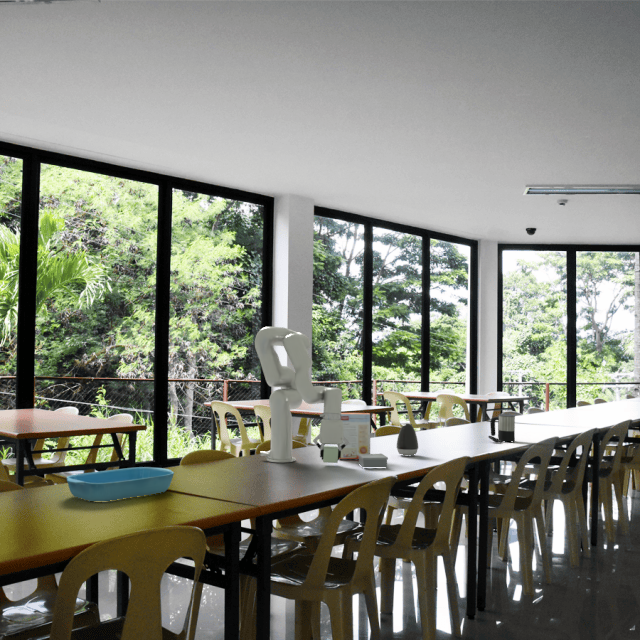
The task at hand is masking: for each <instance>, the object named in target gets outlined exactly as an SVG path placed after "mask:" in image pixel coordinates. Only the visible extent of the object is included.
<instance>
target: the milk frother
mask: <svg viewBox="0 0 640 640" xmlns="http://www.w3.org/2000/svg"><path fill="white" fill-rule="evenodd" d="M515 418H516V415H515V414H507V413H506V414H505V413H504V414H503V413H501V414H498V416H494V417H492V418H491V419H490V435H488V436H487V437H488V439H490V440H491V441H493V442H494V443H495V442H497V443H499V442H501V443H503V442H502V441H515V442H516V440H515V437H516V434H515V433H516V432H515V429H516V426H515V425H516V424H515V422H516V419H515ZM496 421H497V422H498V423H497V432H498V433H497V437H494V436H496Z"/></svg>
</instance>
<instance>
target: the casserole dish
mask: <svg viewBox="0 0 640 640" xmlns="http://www.w3.org/2000/svg"><path fill="white" fill-rule="evenodd" d="M174 474H175V472H174V471H172V470H171V469H170V468H169V469H168V468H164V467H163V468H162V467H151V466H144V467H143V466H139V467H127V468H118V469H110V470H100V471H93V472H86V473H85V472H84V473H78V474H71V475H67V476H66V482H67V485H68V489H69V492H70V493H71V494H72V496H73V497H74V498H76V497H78V498H77V499H79V498H82V499H85V500H84V501H86V500H89V501H88V502H90V501H110V500H117V499H123V498H130V497H137V496H144V495H149V496H152V495H151V494H155V495H157V494H156V493H160V494H162V493H161V492H163V493H165V492H167V490H168V489H169V488H170V486H171V483H172V481H173V477H174ZM144 497H145V496H144ZM137 498H138V497H137ZM82 499H81V500H82Z"/></svg>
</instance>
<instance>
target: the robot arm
mask: <svg viewBox="0 0 640 640" xmlns="http://www.w3.org/2000/svg"><path fill="white" fill-rule="evenodd" d="M311 343H312V342H311V341H310V338H309V336H307V335H306V334H304V333H301V332H298V331H295V330H292V329H290V328H287V327H280V326H279V327H278V326H265V327H262V328H261V329H260V330H259V331H257V333H256V336H255V339H254V347H255V351H256V353H257V356H258V359H259V362H260V364H261V365H260V366H261V370H262V372H263V375H264V378H265V382H266V384H267V385H268V386H269V387H271V388H278V389H276V390H274V391H273V392H272V393H271V394H270V396H269V400H268V401H269V402H268V404H269V409H270V410H269V411H270V450H267V451H263V450H262V451H260V456H261V457H266V461H267V462H271V463H284V464H285V463H292V462H295V461H296V457H293V416H292V412H291V410H296V409H299V408H300V407H301V406H302V404H303V402H305V403H306V404H307V405H315V404H316V405H317V404H323V412H322V413H320V414H319V417H321V418H322V419H321V421H320V425H319V433H318V435H316V437H315V438H313V440H312V442H313V443H314V445H316V447H317V448H318V449H319V450H320V451H319V454H320V455H319V457H320V458H321V461H323V456H324V450H323V447H324V446H326V445H336V446H338V461H340V460H339V458H341V450H342V449H343V448H344V447H345V446H346V445H348V444H349V441H348V440H347V439H346V438H345V437H344V435H343V421H342V420H341V413H342V405H343V403H342V402H343V401H342V400H343V399H342V398H343V390H342V389H341V388H339V387H329V386H324V385H313V383H312V381H311V379H310V376H309V370H310V368H311V367H312V366H313V360H312V357H311V355H310V353H309V350H310V348H311ZM274 346H276V347H277V346H281V347H283V348H284V350H285V352H286V355H287V356H288V358H289V360H290V362H291V365H292V367H293V369H292V367H290V366H287V365H282V364H281V361H280V358H279V355H278V353H277V352H276V350H275V349H274ZM318 440H319V442H318ZM343 440H344V441H345V443H344V444H343V445H340V444H342V443H343Z"/></svg>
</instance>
